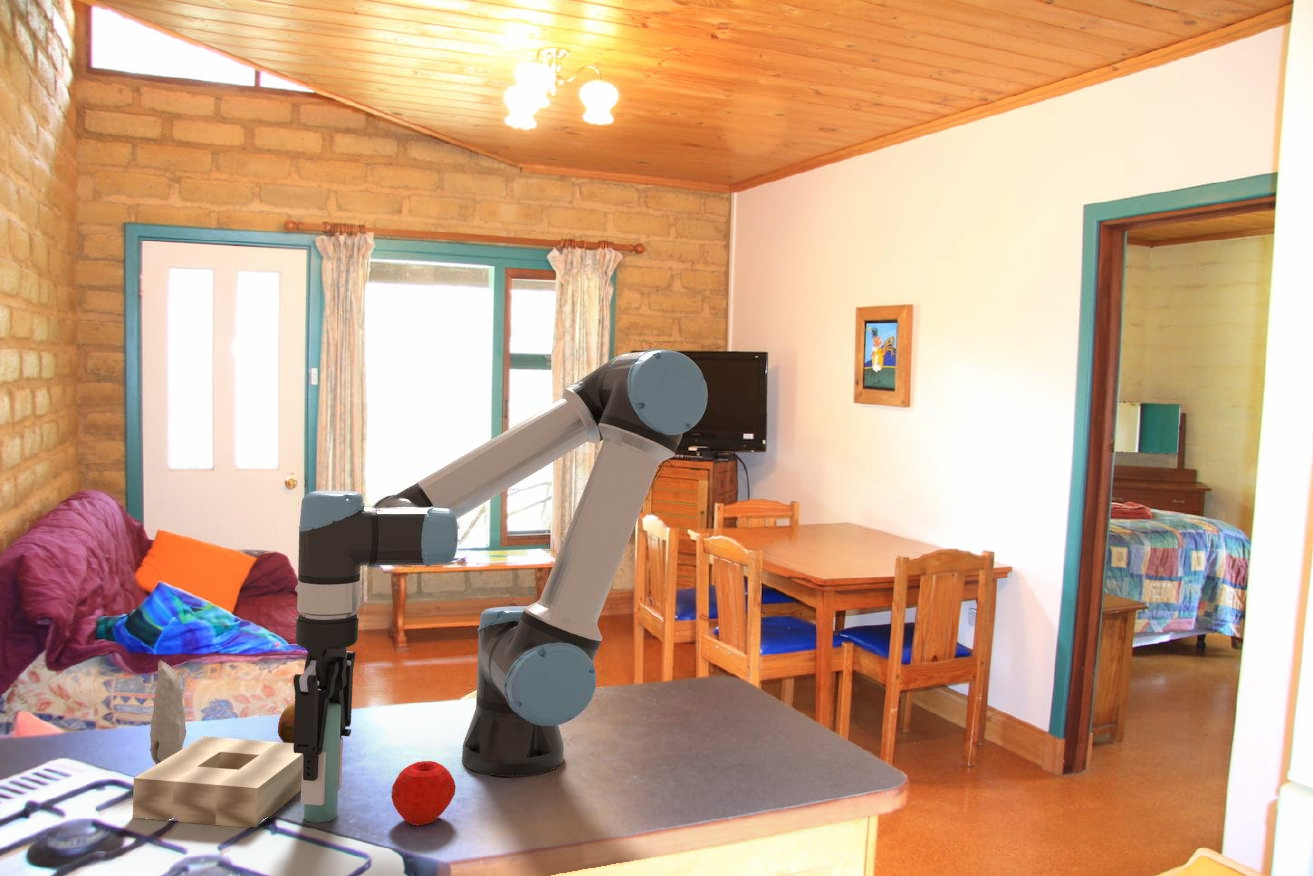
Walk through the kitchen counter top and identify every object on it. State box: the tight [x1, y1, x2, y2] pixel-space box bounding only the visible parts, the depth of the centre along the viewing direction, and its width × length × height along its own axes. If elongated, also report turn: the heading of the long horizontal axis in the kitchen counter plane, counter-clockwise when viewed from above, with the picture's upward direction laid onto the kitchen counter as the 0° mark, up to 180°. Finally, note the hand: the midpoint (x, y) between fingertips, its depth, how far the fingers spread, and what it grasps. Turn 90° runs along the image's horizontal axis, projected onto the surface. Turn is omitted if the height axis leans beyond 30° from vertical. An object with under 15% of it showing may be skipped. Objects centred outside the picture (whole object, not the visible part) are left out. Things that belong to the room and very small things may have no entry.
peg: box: [303, 702, 341, 824], centre depth 126 cm, size 4×4×14 cm
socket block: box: [132, 736, 302, 829], centre depth 130 cm, size 16×16×5 cm
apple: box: [391, 760, 457, 826], centre depth 126 cm, size 8×8×7 cm
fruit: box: [277, 700, 295, 743], centre depth 149 cm, size 8×8×8 cm
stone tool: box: [149, 660, 187, 765], centre depth 140 cm, size 9×3×15 cm, turn 8°
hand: (321, 795), depth 126 cm, fingers open, 4 cm apart
